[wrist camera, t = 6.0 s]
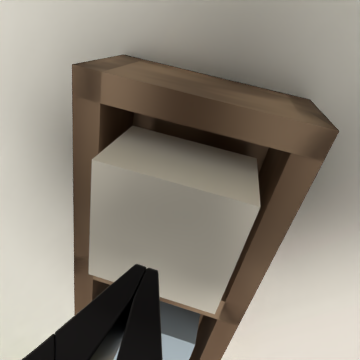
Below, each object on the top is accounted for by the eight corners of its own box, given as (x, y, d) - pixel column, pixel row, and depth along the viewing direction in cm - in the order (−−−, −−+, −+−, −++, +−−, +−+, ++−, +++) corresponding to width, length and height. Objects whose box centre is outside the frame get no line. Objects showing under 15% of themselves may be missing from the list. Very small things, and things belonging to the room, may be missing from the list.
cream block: (256, 158, 12) (260, 206, 9) (221, 251, 16) (214, 314, 12) (132, 125, 13) (91, 159, 10) (122, 221, 16) (88, 274, 13)
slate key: (204, 288, 19) (195, 344, 16) (187, 335, 22) (176, 391, 19) (124, 263, 20) (98, 312, 16) (118, 312, 23) (95, 362, 19)
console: (310, 99, 14) (339, 131, 9) (206, 339, 25) (198, 403, 21) (123, 54, 15) (71, 64, 10) (103, 305, 26) (75, 360, 21)
